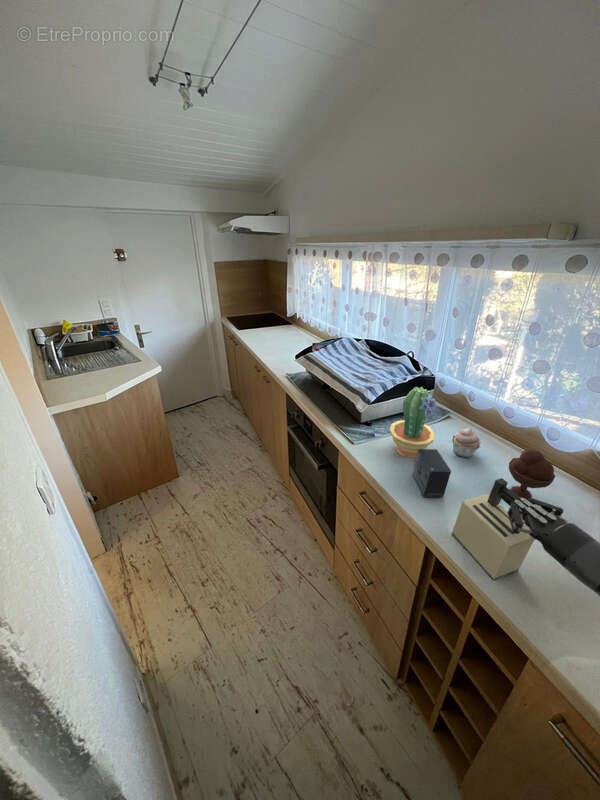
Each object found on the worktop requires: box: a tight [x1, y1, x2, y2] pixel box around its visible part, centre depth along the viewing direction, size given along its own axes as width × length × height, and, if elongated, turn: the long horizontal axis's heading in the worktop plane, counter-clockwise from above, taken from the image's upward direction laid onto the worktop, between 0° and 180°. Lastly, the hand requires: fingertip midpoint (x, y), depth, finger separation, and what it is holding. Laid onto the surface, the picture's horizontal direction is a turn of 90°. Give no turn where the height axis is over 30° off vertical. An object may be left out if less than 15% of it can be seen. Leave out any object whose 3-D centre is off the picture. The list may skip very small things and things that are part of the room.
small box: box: [411, 448, 452, 499], centre depth 93 cm, size 11×6×10 cm, turn 0°
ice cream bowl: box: [508, 448, 556, 500], centre depth 89 cm, size 11×11×15 cm
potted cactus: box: [389, 386, 437, 458], centre depth 106 cm, size 16×15×25 cm
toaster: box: [451, 493, 536, 581], centre depth 73 cm, size 8×13×12 cm, turn 18°
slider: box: [487, 477, 509, 506], centre depth 72 cm, size 2×2×7 cm
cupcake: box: [451, 428, 481, 458], centre depth 108 cm, size 9×9×10 cm
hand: (501, 490), depth 70 cm, fingers closed
